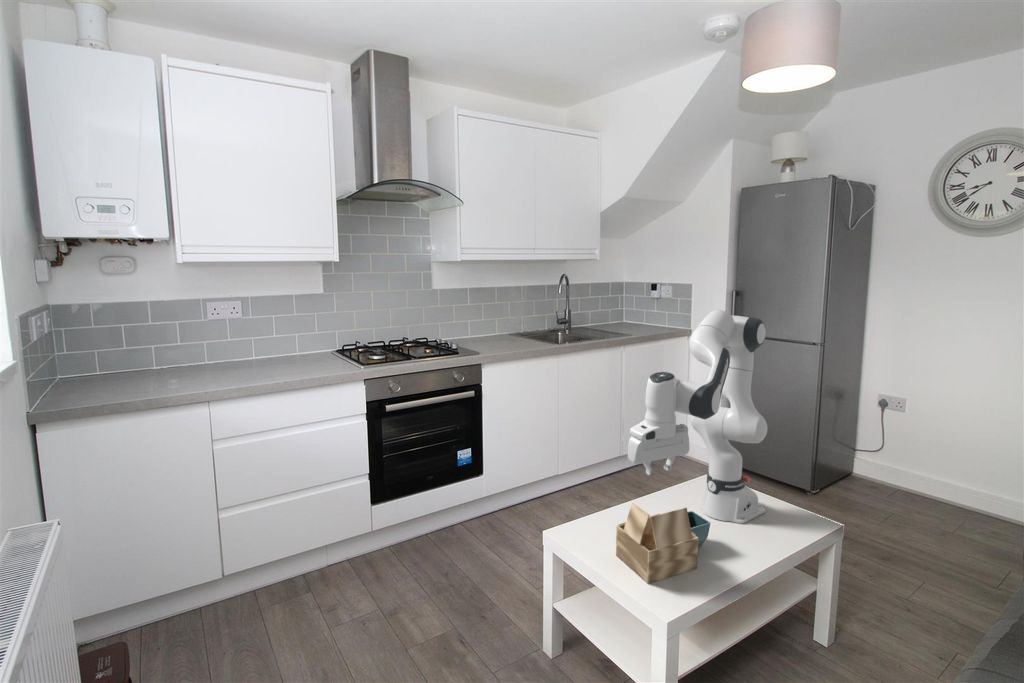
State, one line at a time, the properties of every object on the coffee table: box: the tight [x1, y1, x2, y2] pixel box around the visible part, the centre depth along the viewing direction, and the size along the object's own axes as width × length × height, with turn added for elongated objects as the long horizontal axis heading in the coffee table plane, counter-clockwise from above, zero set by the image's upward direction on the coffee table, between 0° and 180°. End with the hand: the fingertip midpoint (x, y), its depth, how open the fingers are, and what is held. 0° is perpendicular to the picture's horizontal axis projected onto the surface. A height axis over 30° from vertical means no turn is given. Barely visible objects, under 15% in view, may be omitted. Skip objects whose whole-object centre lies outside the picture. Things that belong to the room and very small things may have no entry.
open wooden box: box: [615, 513, 699, 585], centre depth 163 cm, size 19×17×10 cm
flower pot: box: [687, 510, 711, 548], centre depth 172 cm, size 9×9×9 cm
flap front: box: [623, 502, 651, 544], centre depth 158 cm, size 9×8×1 cm
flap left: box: [650, 507, 693, 549], centre depth 155 cm, size 13×9×1 cm
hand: (658, 472), depth 159 cm, fingers open, 5 cm apart
